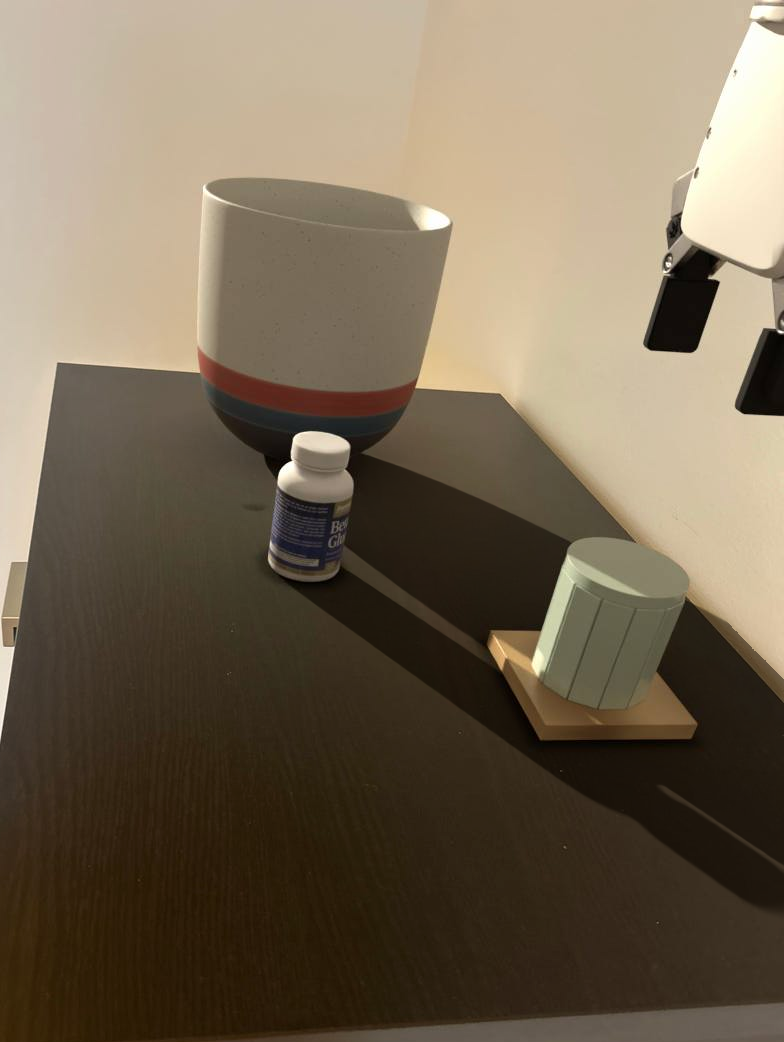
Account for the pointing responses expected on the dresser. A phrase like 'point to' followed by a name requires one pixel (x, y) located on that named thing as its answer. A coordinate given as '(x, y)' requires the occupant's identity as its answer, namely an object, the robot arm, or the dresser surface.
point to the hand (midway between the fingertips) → (712, 379)
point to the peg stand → (577, 721)
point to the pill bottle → (311, 508)
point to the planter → (314, 308)
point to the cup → (609, 622)
